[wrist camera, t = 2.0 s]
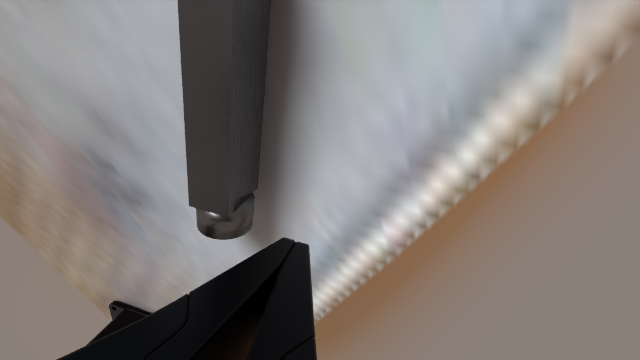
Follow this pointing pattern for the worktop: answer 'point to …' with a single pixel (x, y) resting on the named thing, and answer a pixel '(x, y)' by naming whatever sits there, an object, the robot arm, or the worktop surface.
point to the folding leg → (223, 108)
